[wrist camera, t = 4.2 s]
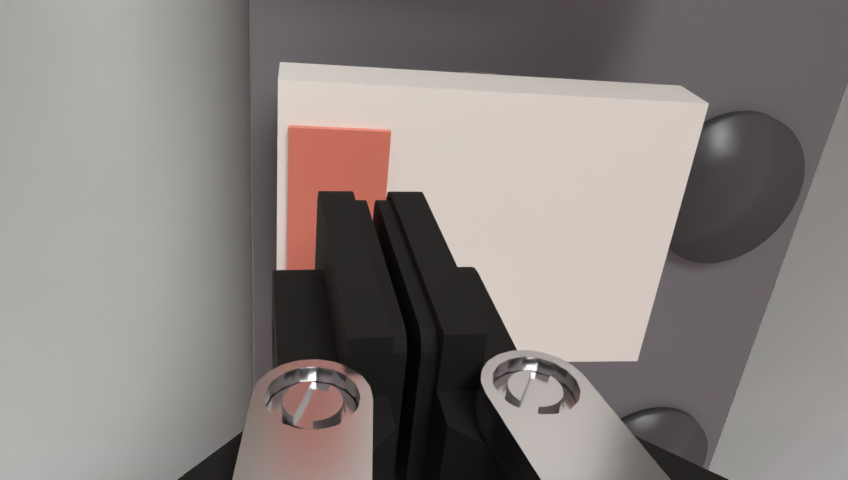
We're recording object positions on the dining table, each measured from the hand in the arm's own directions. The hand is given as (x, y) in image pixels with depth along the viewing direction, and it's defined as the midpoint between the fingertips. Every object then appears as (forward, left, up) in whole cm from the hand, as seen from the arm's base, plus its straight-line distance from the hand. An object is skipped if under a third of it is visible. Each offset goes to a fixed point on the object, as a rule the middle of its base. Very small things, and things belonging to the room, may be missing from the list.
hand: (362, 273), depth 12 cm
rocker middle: (-3, 0, -3) cm, 4 cm away
